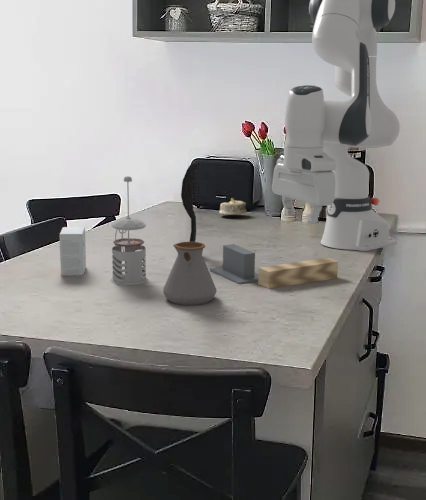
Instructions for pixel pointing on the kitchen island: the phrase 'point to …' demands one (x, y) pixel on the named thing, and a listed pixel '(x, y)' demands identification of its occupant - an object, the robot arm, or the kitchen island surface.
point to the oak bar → (297, 272)
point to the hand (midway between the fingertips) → (300, 219)
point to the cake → (233, 207)
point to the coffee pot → (189, 276)
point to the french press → (128, 251)
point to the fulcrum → (237, 265)
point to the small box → (72, 250)
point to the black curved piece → (189, 197)
